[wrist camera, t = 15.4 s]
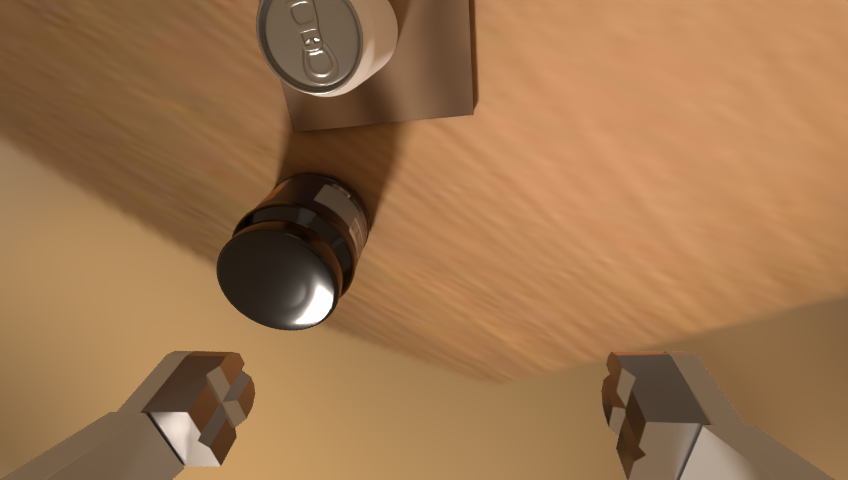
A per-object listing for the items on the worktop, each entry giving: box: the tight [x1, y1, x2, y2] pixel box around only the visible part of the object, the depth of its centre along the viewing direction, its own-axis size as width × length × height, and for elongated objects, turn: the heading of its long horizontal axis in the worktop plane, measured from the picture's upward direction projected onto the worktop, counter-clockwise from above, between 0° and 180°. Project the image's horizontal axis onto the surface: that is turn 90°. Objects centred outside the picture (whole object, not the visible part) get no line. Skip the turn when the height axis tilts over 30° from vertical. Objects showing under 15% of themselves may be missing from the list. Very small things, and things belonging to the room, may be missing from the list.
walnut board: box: [259, 0, 474, 132], centre depth 31 cm, size 16×16×1 cm
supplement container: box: [216, 172, 370, 330], centre depth 35 cm, size 10×10×12 cm
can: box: [256, 0, 398, 97], centre depth 25 cm, size 6×6×12 cm
